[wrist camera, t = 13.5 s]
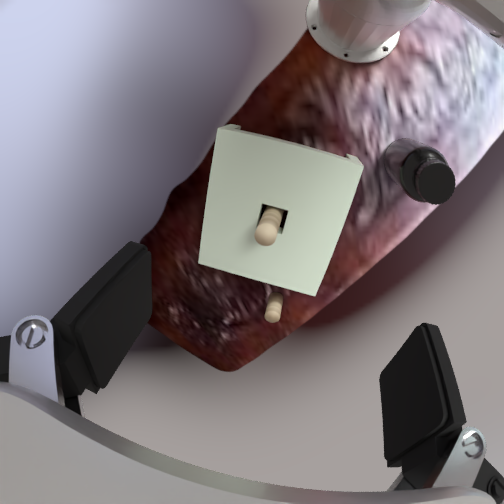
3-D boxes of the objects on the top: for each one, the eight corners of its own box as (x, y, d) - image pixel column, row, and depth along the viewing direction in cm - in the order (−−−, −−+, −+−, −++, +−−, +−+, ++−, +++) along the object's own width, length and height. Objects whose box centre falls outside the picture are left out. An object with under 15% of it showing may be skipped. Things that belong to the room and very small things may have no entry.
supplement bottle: (424, 184, 36) (458, 216, 26) (382, 182, 37) (405, 213, 27) (427, 139, 33) (466, 156, 22) (383, 135, 34) (410, 149, 24)
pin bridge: (230, 123, 38) (217, 128, 33) (356, 156, 36) (363, 166, 31) (210, 244, 48) (198, 263, 43) (315, 273, 47) (315, 296, 42)
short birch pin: (272, 290, 50) (267, 309, 46) (285, 295, 50) (282, 314, 46) (267, 299, 52) (262, 319, 47) (280, 304, 52) (276, 324, 47)
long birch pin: (270, 193, 42) (256, 223, 32) (287, 197, 42) (278, 229, 32) (267, 208, 43) (252, 242, 34) (283, 213, 43) (273, 248, 34)
